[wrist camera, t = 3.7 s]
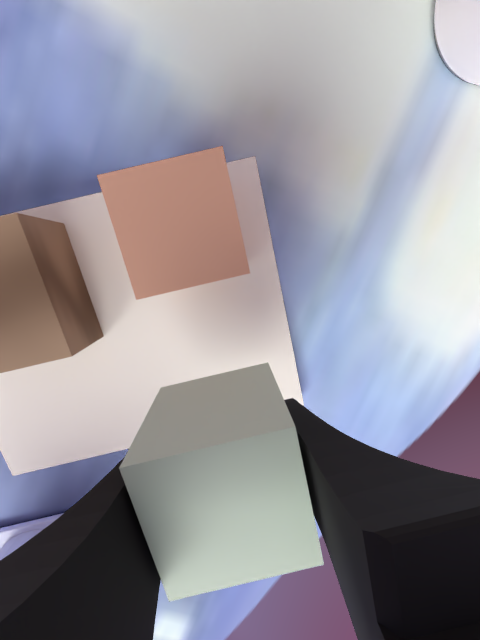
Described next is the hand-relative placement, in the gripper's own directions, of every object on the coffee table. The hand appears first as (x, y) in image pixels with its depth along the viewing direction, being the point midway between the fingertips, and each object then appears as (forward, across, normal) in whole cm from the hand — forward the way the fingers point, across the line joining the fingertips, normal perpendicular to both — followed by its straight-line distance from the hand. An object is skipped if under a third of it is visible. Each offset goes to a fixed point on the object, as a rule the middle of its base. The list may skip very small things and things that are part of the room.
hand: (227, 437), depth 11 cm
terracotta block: (+5, 0, -8) cm, 10 cm away
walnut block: (+5, +9, -7) cm, 13 cm away
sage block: (+1, 0, 0) cm, 1 cm away
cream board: (+6, +5, -4) cm, 9 cm away
